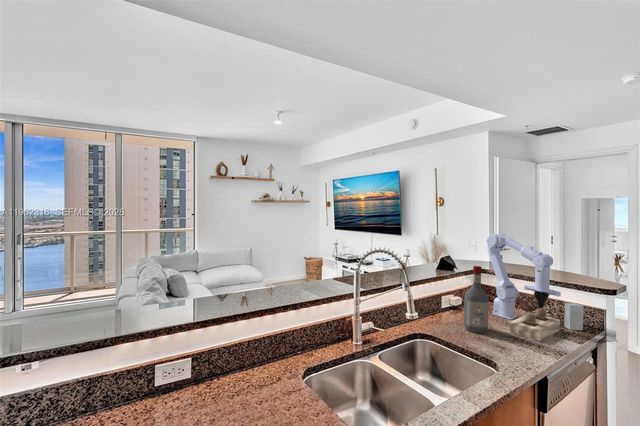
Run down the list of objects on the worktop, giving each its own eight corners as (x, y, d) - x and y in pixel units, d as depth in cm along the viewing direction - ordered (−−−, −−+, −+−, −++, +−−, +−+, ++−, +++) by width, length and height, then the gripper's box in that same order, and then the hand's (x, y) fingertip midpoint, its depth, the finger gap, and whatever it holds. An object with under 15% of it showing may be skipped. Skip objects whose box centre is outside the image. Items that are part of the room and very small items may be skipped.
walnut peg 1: (523, 325, 145) (523, 314, 145) (527, 323, 147) (527, 312, 147) (533, 328, 142) (533, 317, 142) (536, 326, 144) (537, 315, 144)
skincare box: (576, 327, 154) (577, 303, 154) (582, 330, 150) (584, 305, 150) (563, 326, 155) (564, 302, 155) (569, 330, 151) (570, 305, 150)
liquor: (488, 334, 144) (491, 269, 143) (467, 332, 146) (469, 267, 145) (482, 326, 153) (484, 265, 152) (462, 324, 154) (464, 264, 154)
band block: (509, 332, 146) (510, 321, 146) (531, 322, 160) (531, 312, 160) (539, 342, 136) (539, 330, 136) (559, 330, 150) (560, 319, 150)
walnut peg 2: (534, 319, 152) (534, 309, 152) (537, 318, 154) (537, 308, 154) (543, 322, 149) (544, 312, 149) (546, 320, 151) (547, 310, 151)
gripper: (521, 277, 154) (520, 304, 155) (557, 284, 143) (555, 313, 143) (528, 275, 159) (526, 302, 159) (562, 282, 147) (561, 310, 147)
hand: (541, 307), depth 151 cm, fingers closed
